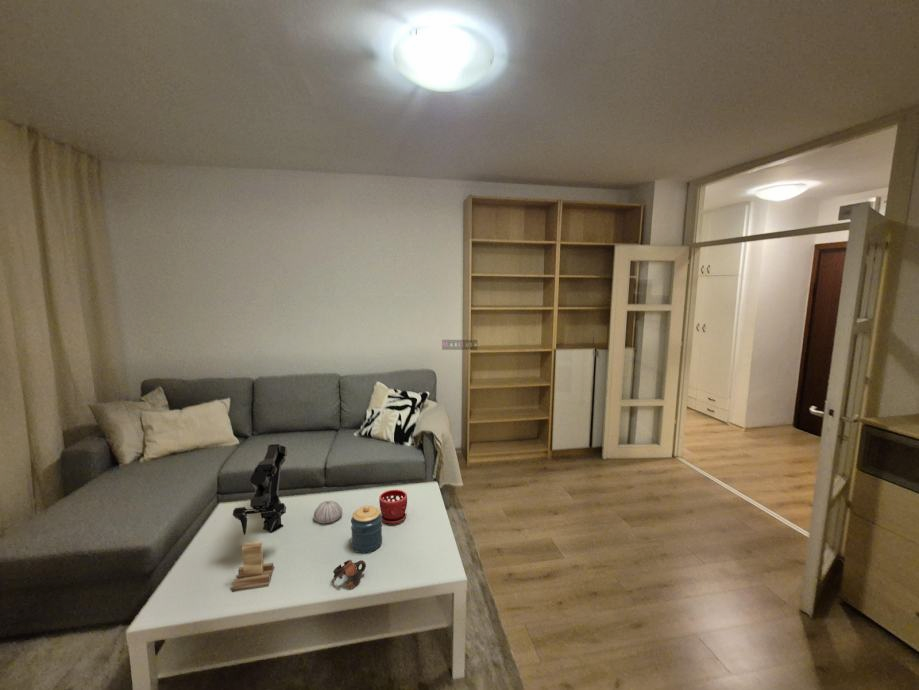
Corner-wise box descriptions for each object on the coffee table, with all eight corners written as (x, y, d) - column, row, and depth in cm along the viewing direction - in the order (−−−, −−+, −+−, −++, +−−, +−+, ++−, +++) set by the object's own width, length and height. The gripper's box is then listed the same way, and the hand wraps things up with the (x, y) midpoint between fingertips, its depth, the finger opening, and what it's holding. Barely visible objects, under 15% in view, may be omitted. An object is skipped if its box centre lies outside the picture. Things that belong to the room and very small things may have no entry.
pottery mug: (343, 596, 142) (333, 574, 143) (337, 591, 150) (328, 571, 151) (372, 574, 149) (363, 554, 149) (366, 571, 156) (357, 551, 157)
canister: (388, 543, 171) (387, 505, 169) (362, 558, 162) (361, 518, 159) (370, 531, 180) (370, 494, 177) (345, 544, 170) (344, 506, 168)
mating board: (240, 572, 152) (240, 565, 152) (274, 567, 155) (273, 560, 155) (232, 591, 143) (232, 584, 142) (268, 586, 146) (268, 578, 145)
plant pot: (412, 516, 192) (412, 493, 191) (394, 529, 181) (394, 505, 180) (392, 508, 199) (392, 486, 197) (373, 520, 188) (373, 497, 186)
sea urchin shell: (307, 521, 187) (306, 505, 186) (327, 507, 199) (327, 492, 198) (329, 528, 181) (328, 512, 180) (348, 514, 194) (348, 498, 193)
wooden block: (246, 575, 150) (244, 543, 148) (263, 572, 151) (261, 541, 149) (244, 581, 147) (242, 548, 145) (261, 578, 148) (259, 546, 146)
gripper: (232, 489, 155) (225, 531, 146) (283, 484, 160) (279, 525, 151) (239, 497, 164) (232, 538, 155) (287, 493, 169) (284, 532, 160)
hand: (257, 533), depth 155 cm, fingers open, 9 cm apart
